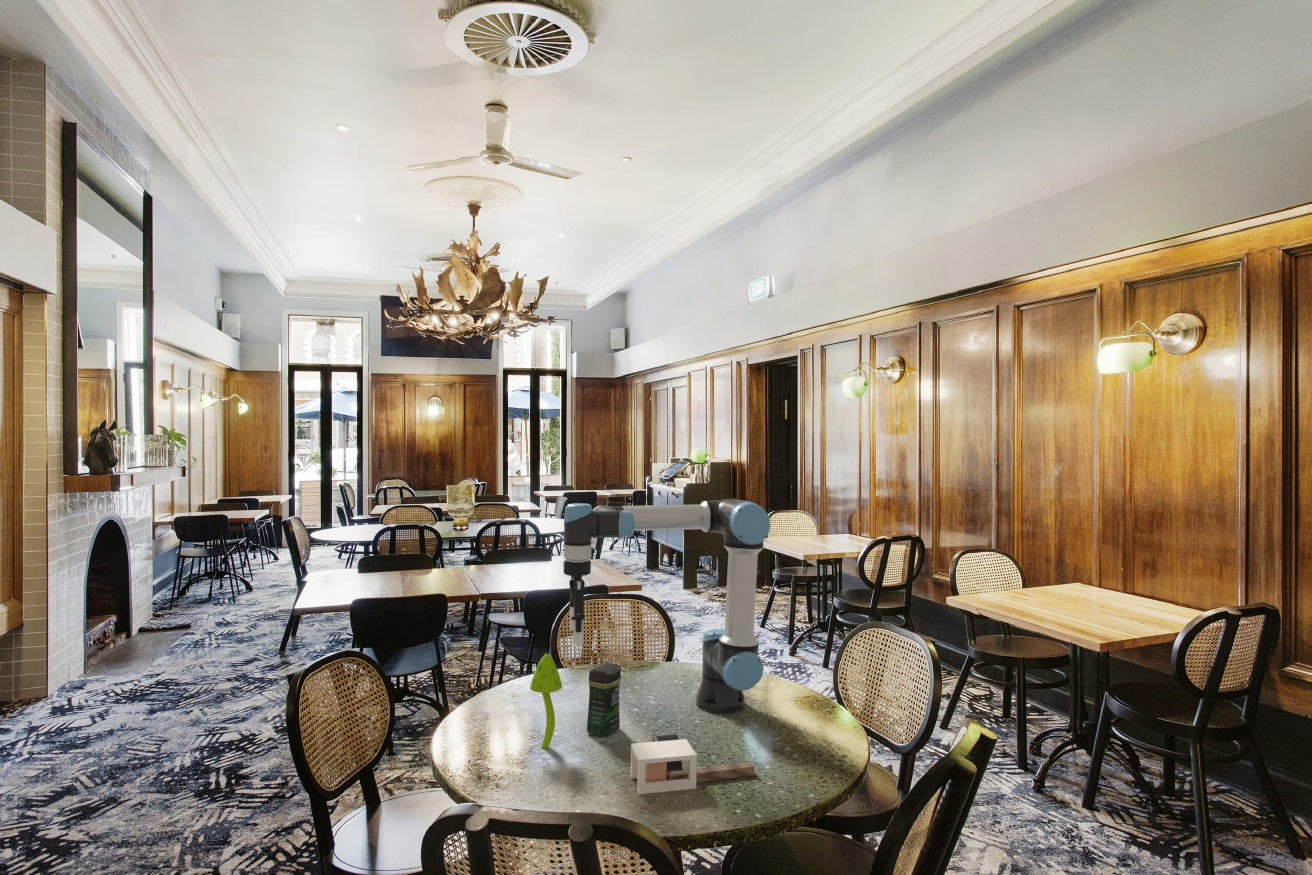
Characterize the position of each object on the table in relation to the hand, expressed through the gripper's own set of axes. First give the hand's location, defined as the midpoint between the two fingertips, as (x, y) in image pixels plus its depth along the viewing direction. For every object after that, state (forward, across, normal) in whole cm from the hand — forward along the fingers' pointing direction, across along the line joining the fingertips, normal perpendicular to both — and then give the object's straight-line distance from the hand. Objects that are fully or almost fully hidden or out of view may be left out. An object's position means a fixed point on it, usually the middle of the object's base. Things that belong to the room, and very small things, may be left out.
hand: (576, 636), depth 196 cm
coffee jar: (+28, -2, +8) cm, 29 cm away
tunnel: (+28, +27, +19) cm, 43 cm away
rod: (+28, +29, +31) cm, 51 cm away
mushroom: (+28, +6, -8) cm, 29 cm away
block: (+28, +30, +17) cm, 44 cm away
